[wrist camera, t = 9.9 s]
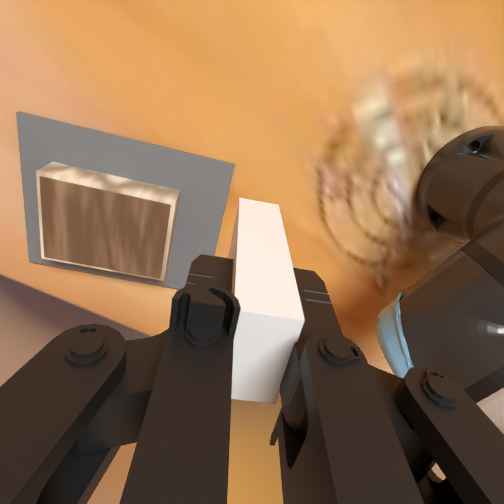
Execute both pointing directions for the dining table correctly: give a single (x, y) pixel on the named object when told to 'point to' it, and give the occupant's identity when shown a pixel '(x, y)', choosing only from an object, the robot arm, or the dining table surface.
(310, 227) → the dining table surface
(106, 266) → the brown wooden block
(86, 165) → the mat
